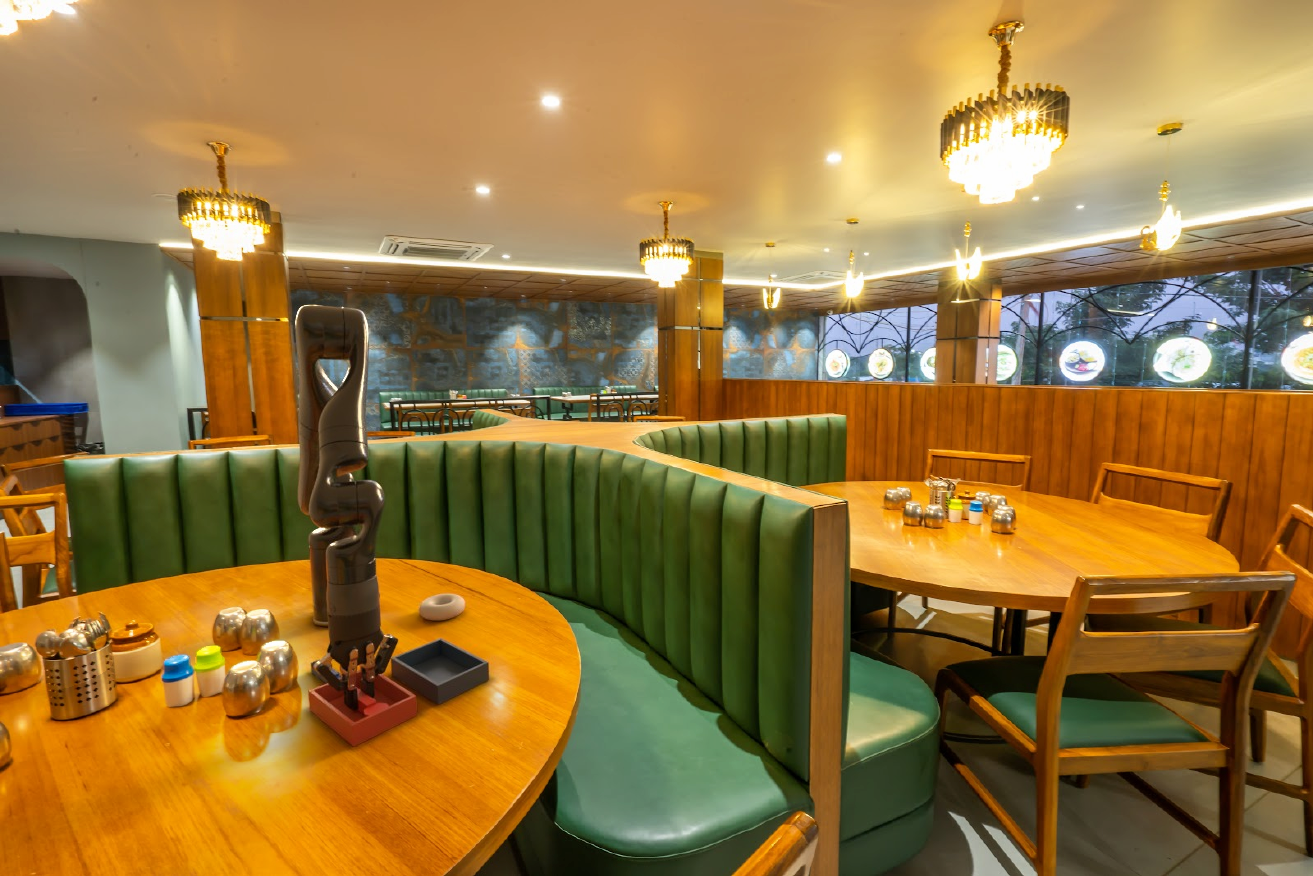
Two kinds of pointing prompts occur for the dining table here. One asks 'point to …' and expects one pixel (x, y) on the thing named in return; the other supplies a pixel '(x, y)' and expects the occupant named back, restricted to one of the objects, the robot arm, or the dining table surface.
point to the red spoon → (368, 704)
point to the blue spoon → (321, 677)
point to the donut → (442, 607)
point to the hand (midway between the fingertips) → (359, 704)
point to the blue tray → (440, 670)
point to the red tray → (353, 723)
